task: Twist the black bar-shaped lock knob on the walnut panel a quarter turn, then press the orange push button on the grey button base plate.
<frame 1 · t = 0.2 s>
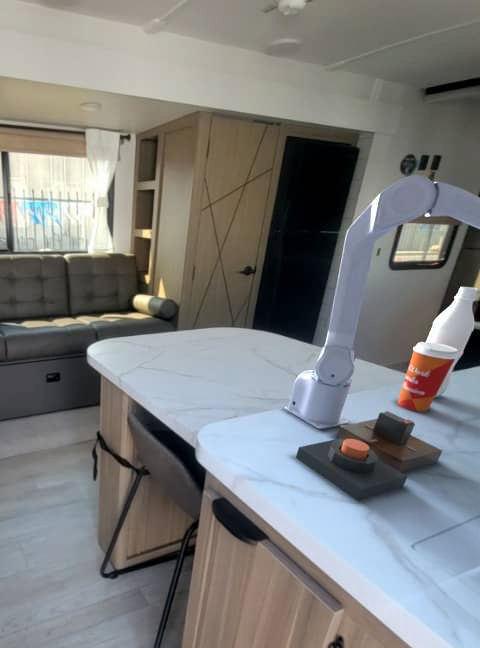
lock knob: (393, 427, 72), point 5 cm above the table, hinge at 0.0°
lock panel: (384, 449, 74), on the table
grey button base plate: (346, 472, 67), on the table
water bottle: (423, 394, 98), on the table
paper cup: (412, 406, 91), on the table
orange push button: (354, 449, 65), point 4 cm above the table, slide at 0.1 cm
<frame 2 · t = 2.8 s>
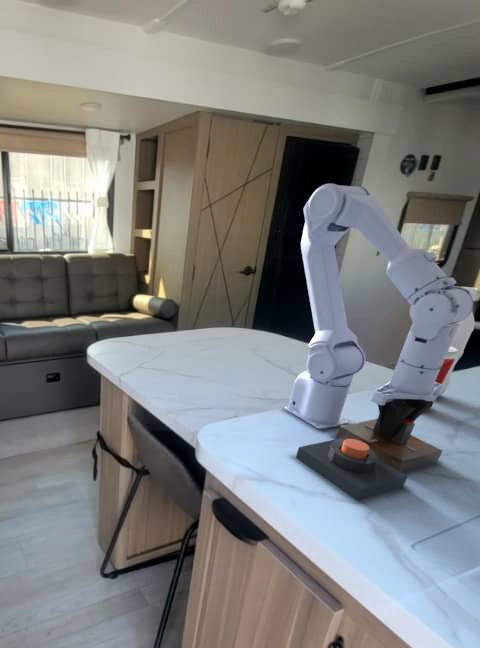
hand: (390, 434, 72), 3 cm above the table, tool pointing down, fingers closed on lock knob, 2 cm apart
lock knob: (393, 427, 72), point 5 cm above the table, hinge at 0.0°, touching gripper
everything else where it was.
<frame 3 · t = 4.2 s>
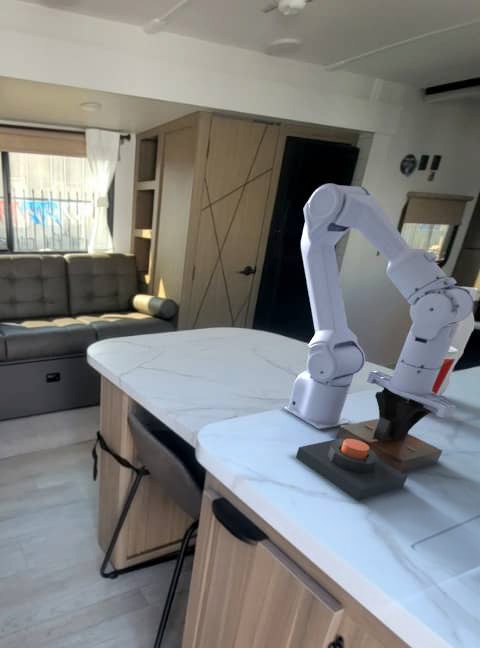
hand: (390, 434, 72), 3 cm above the table, tool pointing down, fingers closed on lock knob, 2 cm apart
lock knob: (393, 427, 72), point 5 cm above the table, hinge at 81.4°, touching gripper
everything else where it was.
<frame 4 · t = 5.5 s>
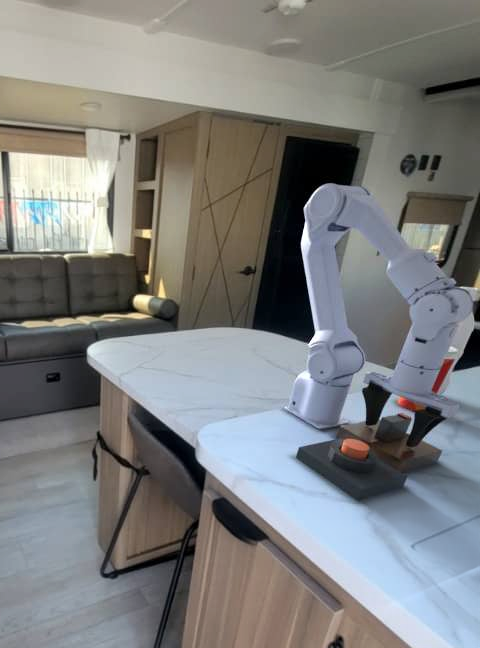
hand: (390, 434, 72), 3 cm above the table, tool pointing down, fingers open, 7 cm apart
lock knob: (393, 427, 72), point 5 cm above the table, hinge at 89.9°
everything else where it was.
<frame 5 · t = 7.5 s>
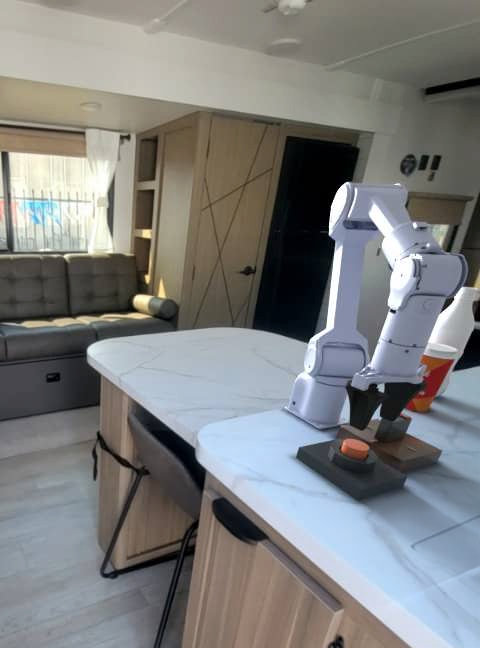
hand: (372, 423, 65), 8 cm above the table, tool pointing down, fingers open, 7 cm apart
nothing on the table moved.
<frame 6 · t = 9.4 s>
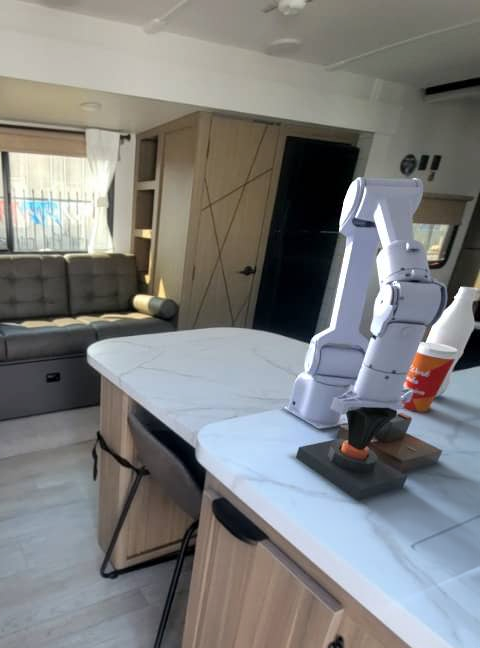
hand: (356, 446, 65), 5 cm above the table, tool pointing down, fingers closed, pressing on orange push button
orange push button: (354, 450, 65), point 4 cm above the table, slide at -0.2 cm, touching gripper
everything else where it was.
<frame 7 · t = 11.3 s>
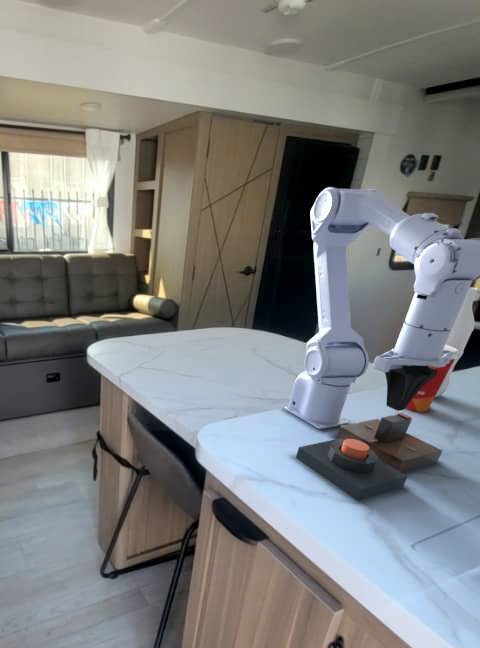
hand: (394, 407, 66), 10 cm above the table, tool pointing down, fingers closed
orange push button: (354, 449, 65), point 4 cm above the table, slide at 0.1 cm
everything else where it was.
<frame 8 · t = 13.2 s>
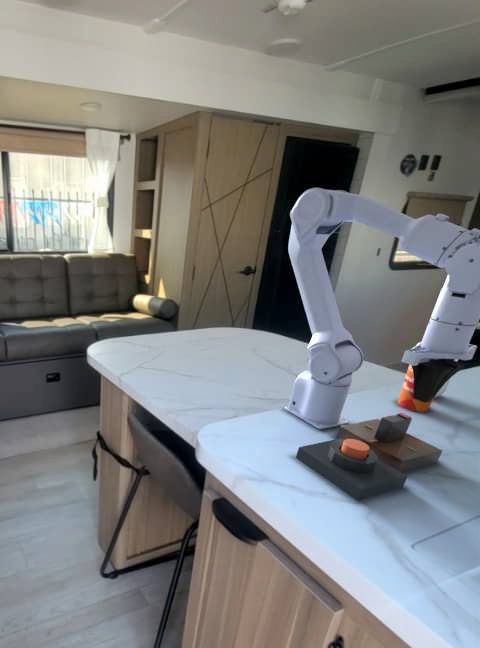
hand: (421, 399, 69), 10 cm above the table, tool pointing down, fingers closed
nothing on the table moved.
at the end: lock knob at +90° (first picture: +0°); orange push button pushed in 1.2 cm at the most during the clip, back to where it started at the end; orange push button slide at 0.1 cm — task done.
